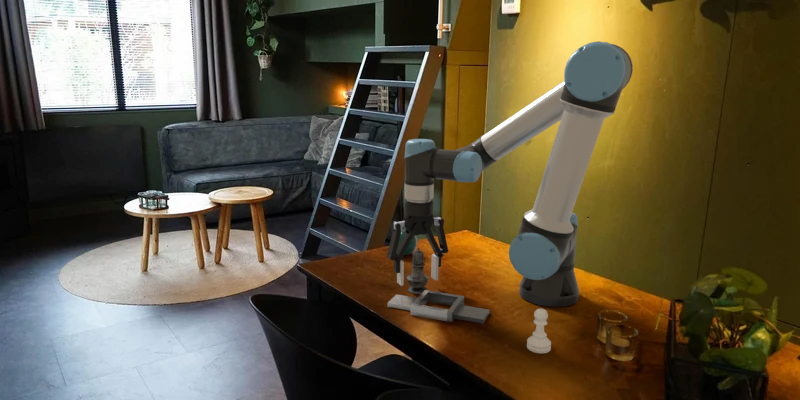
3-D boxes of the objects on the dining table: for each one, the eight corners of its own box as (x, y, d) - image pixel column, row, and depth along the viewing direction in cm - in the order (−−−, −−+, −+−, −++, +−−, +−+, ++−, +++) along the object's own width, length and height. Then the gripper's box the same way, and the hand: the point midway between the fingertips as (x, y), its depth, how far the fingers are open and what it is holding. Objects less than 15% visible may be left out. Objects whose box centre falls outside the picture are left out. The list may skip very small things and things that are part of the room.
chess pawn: (522, 343, 123) (525, 305, 121) (543, 341, 125) (546, 303, 123) (533, 355, 119) (535, 315, 117) (555, 352, 120) (558, 313, 118)
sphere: (414, 259, 176) (414, 235, 174) (389, 257, 178) (389, 233, 176) (419, 251, 184) (419, 227, 182) (395, 249, 186) (395, 226, 184)
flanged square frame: (491, 309, 140) (491, 300, 140) (481, 327, 131) (481, 317, 130) (399, 294, 149) (399, 285, 149) (383, 310, 140) (383, 300, 139)
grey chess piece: (426, 295, 149) (427, 251, 146) (404, 293, 150) (405, 250, 147) (430, 287, 155) (431, 245, 152) (408, 285, 156) (409, 243, 153)
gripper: (450, 193, 154) (447, 271, 159) (373, 199, 146) (373, 282, 151) (463, 199, 147) (460, 280, 153) (384, 206, 139) (384, 292, 144)
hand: (417, 281), depth 152 cm, fingers open, 9 cm apart
